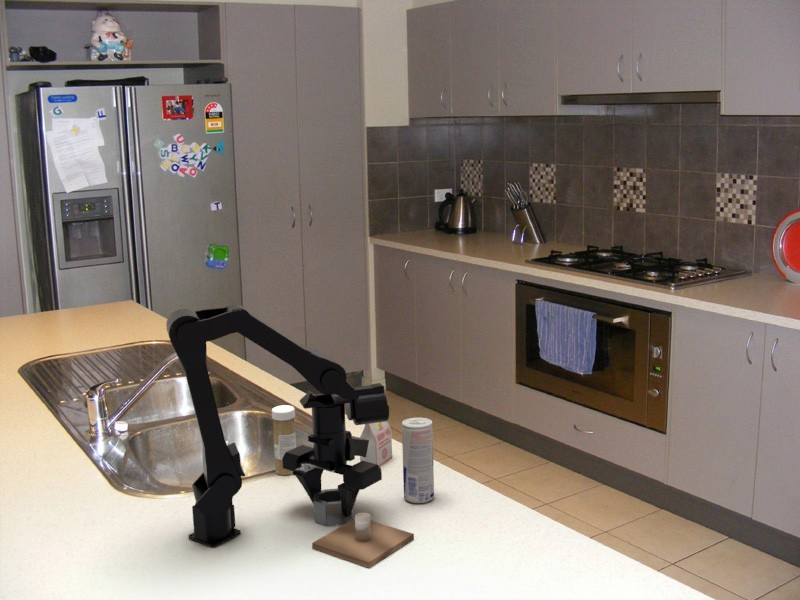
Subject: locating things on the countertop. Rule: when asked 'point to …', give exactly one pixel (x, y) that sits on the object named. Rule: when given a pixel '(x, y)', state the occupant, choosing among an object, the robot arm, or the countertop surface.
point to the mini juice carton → (377, 443)
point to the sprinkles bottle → (283, 435)
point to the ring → (329, 508)
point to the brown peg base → (363, 541)
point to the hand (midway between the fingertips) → (332, 511)
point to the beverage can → (418, 460)
